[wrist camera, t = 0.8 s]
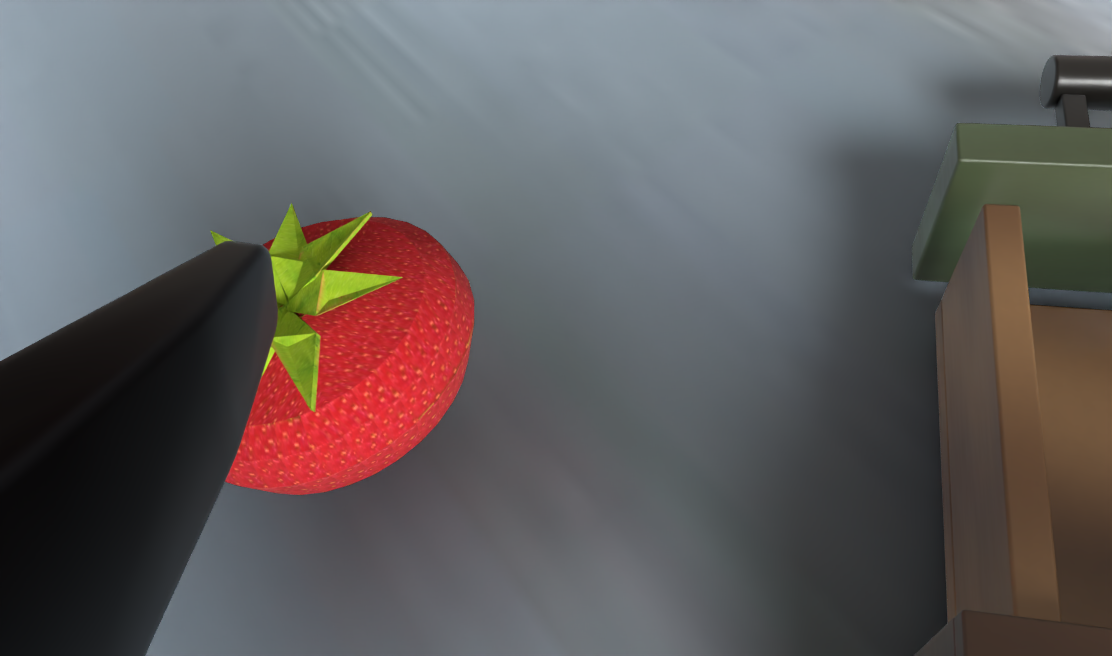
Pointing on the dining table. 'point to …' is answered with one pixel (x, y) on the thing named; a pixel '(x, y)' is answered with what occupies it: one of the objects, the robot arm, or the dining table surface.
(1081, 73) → the drawer
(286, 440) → the strawberry
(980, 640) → the cabinet
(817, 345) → the dining table surface
